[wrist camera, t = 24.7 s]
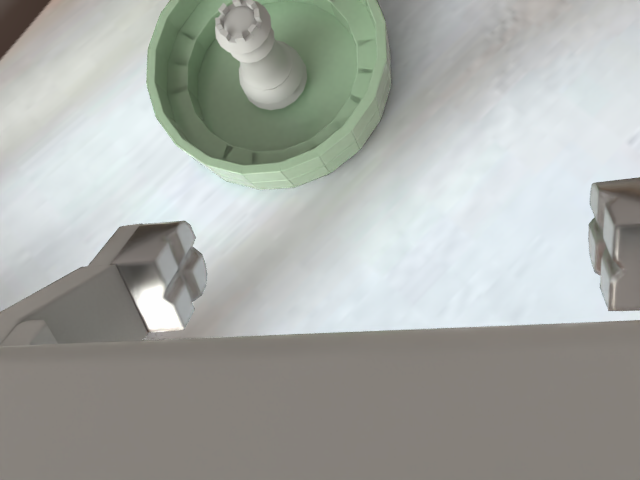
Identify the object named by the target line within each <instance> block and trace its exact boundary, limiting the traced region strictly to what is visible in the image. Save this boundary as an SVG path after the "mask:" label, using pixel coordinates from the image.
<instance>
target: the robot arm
mask: <svg viewBox="0 0 640 480" xmlns="http://www.w3.org/2000/svg"><path fill="white" fill-rule="evenodd" d="M590 206H591V209H592V211H593V214H594V216H595V218H594V219H593V220H592V221H591V222H590V223H589V234H588V241H589V254H590V258H591V263H592V266H593V269H594V272H595V273H597V274H598V275H600V289H601V292H602V294H603V297H604V300H605V303H606V305H607V308H608V311H635V310H640V178H631V179H622V180H614V181H605V182H596V183H593V184H592V186H591V191H590ZM195 239H196V237H195V234H194V232H193V230H192V227H191V225H190V224H189V223H187V222H186V221H175V222H161V223H148V224H134V225H126V226H121V227H119V228H118V229H117V231H116V232H115V233H114V234H113V236H112V237H111V238H110V239H109V241H108V242H107V243H106V244H105V245H104V247H103V248H102V249H101V250H100V252H99V253H98V254H97V255H96V257H95V258H94V259H93V260H92V262H91V263H90V264H89V265H88V266H87V267H80V268H79V269H77V270H75V271H73V272H71V273H70V274H68V275H66V276H64V277H62V278H61V279H59V280H57V281H55V282H53V283H52V284H50V285H48V286H46V287H44V288H43V289H41V290H39V291H37V292H35V293H34V294H32V295H30V296H28V297H26V298H25V299H23V300H21V301H19V302H18V303H16V304H14V305H12V306H10V307H9V308H7V309H5V310H3V311H1V312H0V480H640V320H633V321H609V322H584V323H560V324H535V325H510V326H486V327H461V328H437V329H412V330H388V331H363V332H338V333H314V334H289V335H264V336H240V337H215V338H191V339H166V340H142V339H144V338H145V337H146V336H147V335H148V332H162V331H176V330H184V329H185V327H186V325H187V324H188V322H189V320H190V318H191V316H192V314H193V312H194V310H195V308H194V306H193V303H192V302H193V301H195V300H196V299H198V298H199V297H200V296H202V294H203V292H204V290H205V287H206V281H207V270H206V264H205V261H204V258H203V255H202V254H201V253H200V252H199V251H197V250H196V249H195V248H194V247H193V244H194V241H195Z"/></svg>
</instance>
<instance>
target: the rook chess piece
mask: <svg viewBox="0 0 640 480" xmlns="http://www.w3.org/2000/svg"><path fill="white" fill-rule="evenodd" d="M232 2H233V4H231V5H229V6H228V7H227V6H226V5H225V4H224V3H223V4H222V5H221V6H220V8H219V9H218V10H219V12H220V13H221V14H220V16H219V17H218V18H215V24H216V26H215V34H216V39H217V41H218V43H219V44H220V46H221V47H222V48H223V49H225V50H226V51H228V52H230V53H231V54H232V56H233V57H234V58H236V59H237V60H238V61H240V67H239V80H240V85H241V87H242V89H243V91H244V92H245V94H246V96H247V98H248V100H249V101H250V102H252V103H253V104H254V105H256V106H257V107H258V108H262V109H267V110H275V109H281V108H285V107H286V106H288V105H290V104H291V103H293V102H295V101H296V99H297V98H298V97H299V96H300V95H301V93H302V92H303V91H304V87H305V84H306V81H307V70H306V65H305V64H304V62H303V60H302V58H301V57H300V56H299V54H298V53H297V51H296V50H295V49H294V48H292V47H291V46H289V45H288V44H286V43H285V42H281V41H277V40H275V38H274V31H273V29H272V27H271V18H270V15H269V13H268V11H267V9H266V8H265V7H264V6H263V5H261V4H260V3H258V2H257V1H253V0H232Z"/></svg>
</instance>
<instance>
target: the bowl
mask: <svg viewBox="0 0 640 480" xmlns="http://www.w3.org/2000/svg"><path fill="white" fill-rule="evenodd" d="M253 1H257V2H258V3H260V4H261V5H263V6H264V7H265V8H266V9H267V11H268V13H269V15H270V18H271V27H272V29H273V31H274V38H275V40H277V41H281V42H285V43H286V44H288V45H289V46H291V47H292V48H294V49H295V50H296V51H297V53H298V54H299V56H300V57H301V58H302V60H303V62H304V64H305V65H306V70H307V81H306V84H305V87H304V91H303V92H302V93H301V95H300V96H299V97H298V98H297V99H296V101H295V102H293V103H291V104H290V105H288V106H286V107H285V108H281V109H275V110H267V109H262V108H258V107H257V106H256V105H254V104H253V103H252V102H250V101H249V100H248V98H247V96H246V94H245V92H244V91H243V89H242V87H241V85H240V80H239V67H240V61H238V60H237V59H236V58H234V57H233V56H232V54H231V53H230V52H228V51H226V50H225V49H223V48H222V47H221V46H220V44H219V43H218V41H217V39H216V34H215V26H216V24H215V18H218V17H219V16H220V14H221V13H220V12H219V10H218V9H219V8H220V6H221V5H222V4H223V3H224V4H225V5H226V6H227V7H228V6H229V5H231V4H233V2H232V0H170V1H169V2H168V4H167V5H166V7H165V8H164V9H163V11H162V12H161V14H160V16H159V19H158V22H157V24H156V27H155V30H154V33H153V36H152V39H151V41H150V44H149V47H148V55H147V80H146V84H147V88H148V92H149V95H150V99H151V102H152V106H153V109H154V112H155V116H156V118H157V120H158V121H159V122H160V124H161V125H162V127H163V128H164V129H165V131H166V132H167V134H168V135H169V136H170V138H171V139H172V140H173V142H174V143H175V145H177V147H179V148H180V149H181V150H183V151H184V152H185V153H187V154H188V155H189V156H190V157H192V158H193V159H194V160H196V161H197V162H198V163H200V164H201V165H203V166H204V167H206V168H207V169H209V170H210V171H212V172H213V173H215V174H216V175H217V176H219V177H220V178H222V179H223V180H225V181H227V182H231V183H235V184H239V185H242V186H246V187H250V188H254V189H258V190H265V189H280V188H295V187H297V186H300V185H302V184H305V183H307V182H310V181H313V180H315V179H318V178H320V177H323V176H325V175H328V174H330V173H332V172H333V171H334V170H335V169H337V168H338V167H339V166H340V165H342V164H343V163H344V162H346V161H347V160H348V159H349V158H351V157H352V156H353V155H354V154H356V153H357V152H358V151H359V150H360V149H361V148H362V147H363V145H364V144H365V142H366V141H367V139H368V138H369V136H370V135H371V133H372V132H373V130H374V129H375V128H376V126H377V125H378V123H379V122H380V120H381V118H382V115H383V111H384V108H385V105H386V101H387V98H388V95H389V91H390V88H391V83H392V80H391V54H390V45H389V39H388V33H387V27H386V22H385V18H384V16H383V14H382V11H381V9H380V6H379V4H378V1H377V0H253Z"/></svg>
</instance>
